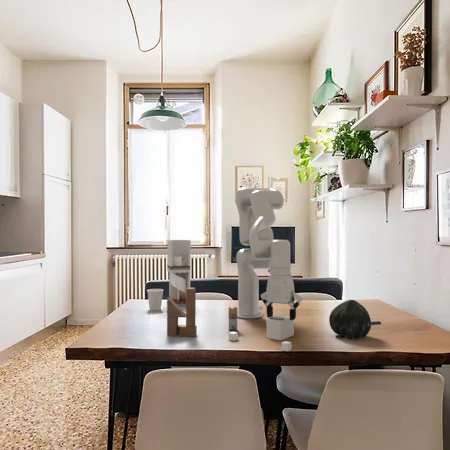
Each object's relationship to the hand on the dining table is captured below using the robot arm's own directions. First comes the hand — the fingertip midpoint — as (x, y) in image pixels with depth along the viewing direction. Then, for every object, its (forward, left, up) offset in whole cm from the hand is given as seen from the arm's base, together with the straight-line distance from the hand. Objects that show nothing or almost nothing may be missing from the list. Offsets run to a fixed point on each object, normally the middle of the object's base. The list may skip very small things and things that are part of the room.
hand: (281, 318), depth 157 cm
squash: (-16, +20, -7) cm, 27 cm away
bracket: (-44, +12, -8) cm, 47 cm away
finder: (0, -1, -7) cm, 7 cm away
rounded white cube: (+15, -12, -7) cm, 20 cm away
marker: (+15, +10, -7) cm, 19 cm away
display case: (-28, -81, -7) cm, 86 cm away
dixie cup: (-9, -79, -7) cm, 79 cm away
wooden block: (+22, -31, -7) cm, 38 cm away
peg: (+3, -21, -7) cm, 22 cm away
